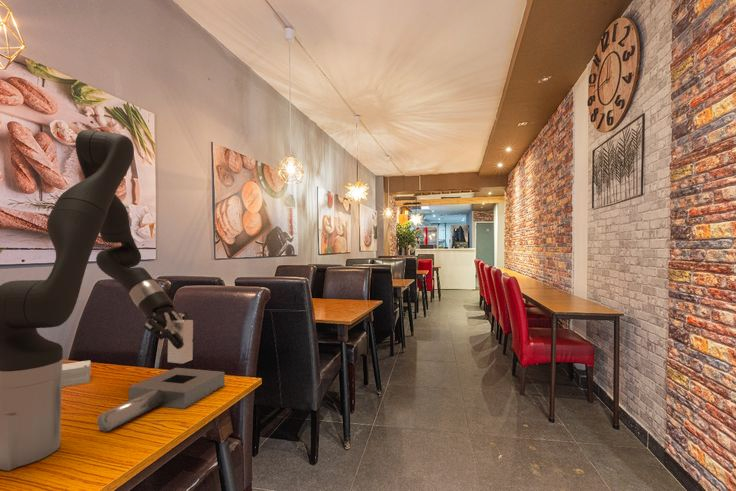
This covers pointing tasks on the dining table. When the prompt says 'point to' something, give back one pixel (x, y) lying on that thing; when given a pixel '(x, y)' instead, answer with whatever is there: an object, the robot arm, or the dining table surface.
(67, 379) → the small box
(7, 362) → the robot arm
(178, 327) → the upright grey pillar
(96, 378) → the dining table surface
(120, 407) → the grey handled frame
